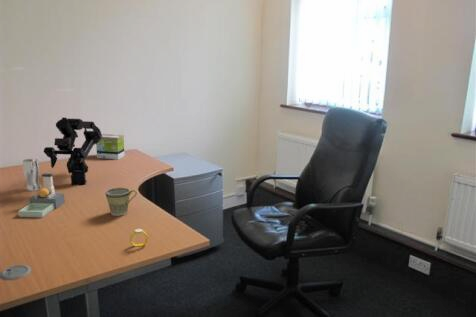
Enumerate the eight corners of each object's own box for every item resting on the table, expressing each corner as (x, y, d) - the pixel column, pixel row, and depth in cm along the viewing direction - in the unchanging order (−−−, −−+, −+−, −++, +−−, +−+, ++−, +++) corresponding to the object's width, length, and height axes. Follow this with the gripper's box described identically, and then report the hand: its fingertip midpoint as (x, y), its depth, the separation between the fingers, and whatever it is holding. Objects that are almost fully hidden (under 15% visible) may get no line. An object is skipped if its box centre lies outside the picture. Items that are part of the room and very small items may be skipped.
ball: (50, 195, 189) (49, 187, 188) (48, 198, 185) (47, 189, 184) (40, 196, 188) (39, 187, 187) (38, 199, 184) (37, 190, 183)
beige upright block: (45, 193, 192) (43, 173, 189) (54, 193, 191) (52, 173, 189) (42, 194, 189) (40, 174, 187) (52, 195, 189) (50, 175, 187)
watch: (146, 243, 153) (147, 228, 152) (147, 246, 150) (148, 231, 149) (129, 244, 151) (130, 229, 150) (130, 248, 149) (130, 232, 147)
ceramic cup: (109, 219, 174) (107, 196, 172) (104, 211, 183) (103, 189, 181) (140, 213, 180) (139, 191, 178) (134, 206, 189) (133, 185, 186)
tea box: (96, 158, 273) (95, 136, 270) (104, 155, 283) (102, 133, 279) (118, 159, 271) (117, 137, 267) (125, 156, 281) (123, 134, 277)
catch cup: (32, 208, 186) (31, 202, 186) (54, 208, 186) (53, 203, 185) (18, 216, 176) (18, 211, 176) (42, 217, 176) (41, 211, 175)
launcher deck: (39, 201, 194) (38, 190, 193) (64, 202, 193) (63, 190, 192) (30, 208, 186) (28, 195, 185) (56, 208, 185) (55, 196, 184)
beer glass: (35, 191, 208) (31, 162, 204) (22, 190, 209) (19, 161, 206) (44, 187, 215) (41, 158, 211) (32, 186, 216) (28, 158, 212)
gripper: (43, 130, 202) (33, 158, 194) (80, 131, 201) (72, 159, 193) (53, 143, 212) (44, 170, 204) (89, 144, 210) (81, 171, 203)
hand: (60, 167), depth 201 cm, fingers open, 8 cm apart
